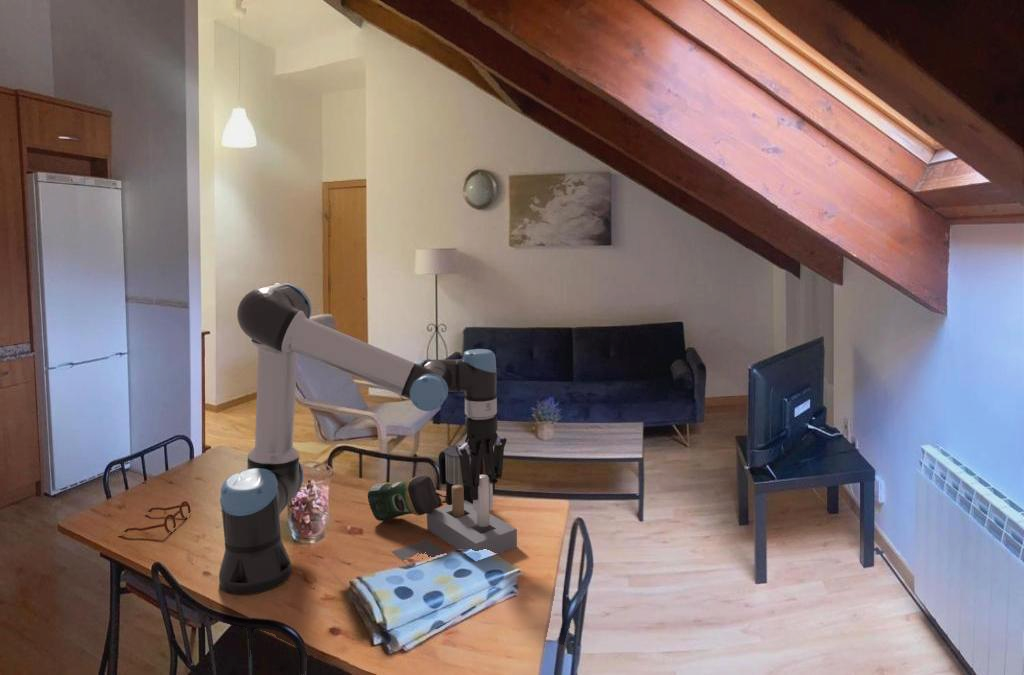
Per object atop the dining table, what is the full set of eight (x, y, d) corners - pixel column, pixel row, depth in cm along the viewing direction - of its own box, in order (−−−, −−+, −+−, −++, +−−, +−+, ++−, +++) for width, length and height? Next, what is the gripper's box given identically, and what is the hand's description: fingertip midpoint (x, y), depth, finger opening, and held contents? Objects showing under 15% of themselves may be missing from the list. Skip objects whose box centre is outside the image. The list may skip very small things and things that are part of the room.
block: (476, 563, 158) (475, 514, 156) (427, 530, 175) (425, 486, 173) (516, 548, 165) (516, 501, 163) (466, 517, 182) (465, 475, 180)
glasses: (169, 537, 174) (167, 519, 173) (117, 538, 173) (115, 520, 173) (192, 515, 186) (190, 498, 186) (144, 516, 186) (142, 499, 185)
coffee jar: (393, 512, 186) (445, 505, 176) (374, 525, 179) (427, 518, 169) (382, 478, 185) (434, 470, 175) (362, 490, 178) (415, 482, 168)
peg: (482, 527, 163) (480, 480, 160) (474, 523, 165) (473, 476, 163) (492, 524, 164) (491, 477, 162) (484, 520, 167) (483, 473, 165)
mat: (411, 569, 155) (411, 567, 155) (391, 553, 163) (391, 551, 163) (448, 556, 161) (448, 554, 161) (427, 540, 169) (427, 539, 169)
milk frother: (484, 497, 195) (483, 448, 193) (451, 518, 182) (450, 465, 180) (444, 488, 203) (442, 440, 200) (410, 507, 189) (408, 456, 187)
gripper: (462, 425, 152) (465, 523, 156) (516, 412, 162) (518, 506, 166) (444, 417, 158) (447, 513, 162) (498, 406, 168) (499, 496, 172)
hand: (483, 509), depth 164 cm, fingers closed on peg, 2 cm apart
